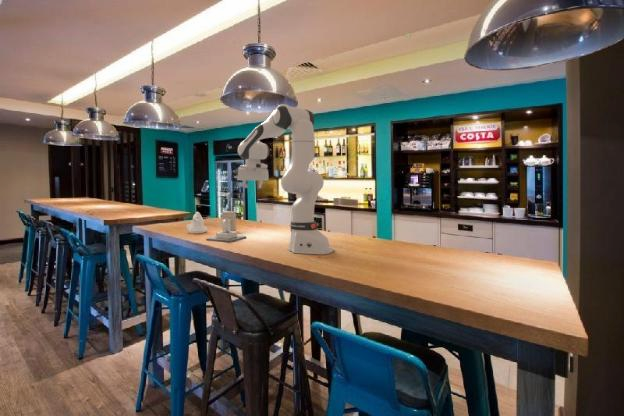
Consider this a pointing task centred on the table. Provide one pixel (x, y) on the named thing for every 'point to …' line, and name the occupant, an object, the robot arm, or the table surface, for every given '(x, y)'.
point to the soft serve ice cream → (196, 224)
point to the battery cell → (226, 226)
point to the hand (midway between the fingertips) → (252, 188)
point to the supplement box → (232, 217)
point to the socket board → (226, 237)
